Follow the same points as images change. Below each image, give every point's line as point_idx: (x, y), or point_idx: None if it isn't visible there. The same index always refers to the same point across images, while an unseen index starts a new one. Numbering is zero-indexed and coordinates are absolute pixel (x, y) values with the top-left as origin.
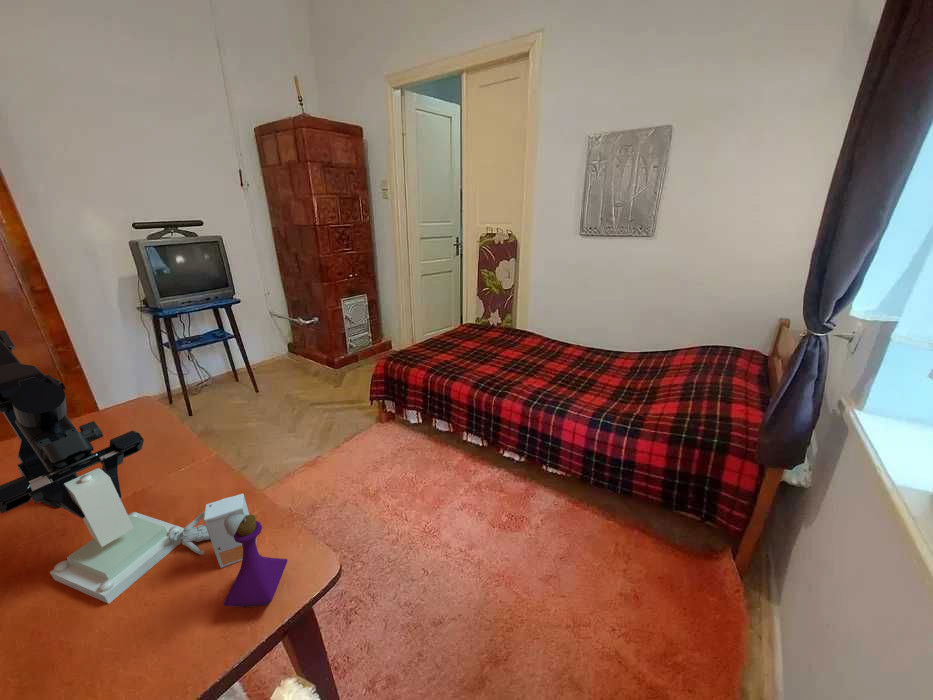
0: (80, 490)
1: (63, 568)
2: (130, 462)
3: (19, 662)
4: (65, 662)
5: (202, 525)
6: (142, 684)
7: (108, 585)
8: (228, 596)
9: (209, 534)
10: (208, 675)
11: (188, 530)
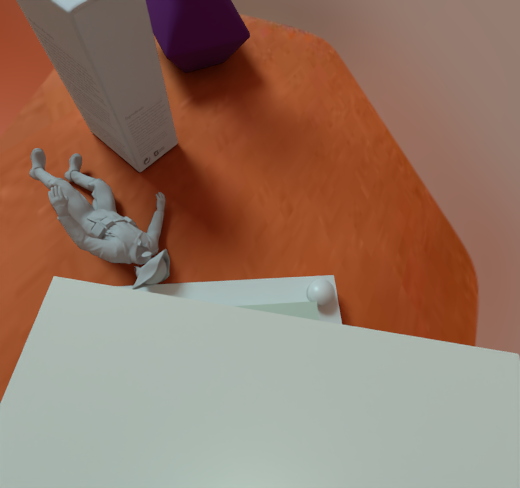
0: (435, 359)
1: None
2: None
3: (461, 314)
4: (412, 234)
5: (95, 224)
6: (360, 102)
7: (321, 279)
8: (240, 17)
9: (154, 43)
10: (312, 43)
11: (124, 237)
